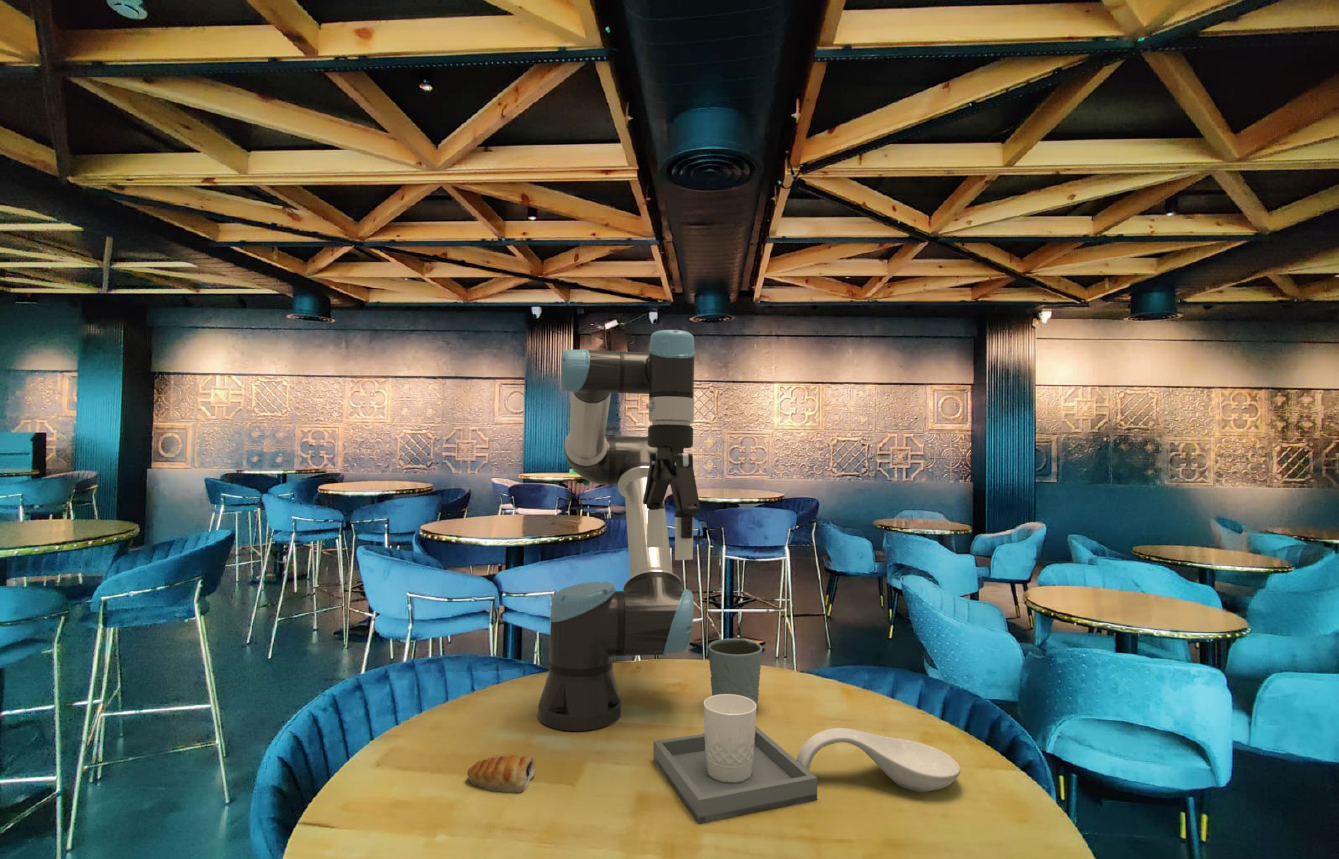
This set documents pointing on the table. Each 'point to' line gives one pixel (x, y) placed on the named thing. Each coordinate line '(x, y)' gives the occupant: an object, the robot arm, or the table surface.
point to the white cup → (729, 737)
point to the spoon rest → (891, 758)
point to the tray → (712, 800)
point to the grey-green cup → (735, 667)
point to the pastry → (503, 773)
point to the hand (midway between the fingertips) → (668, 553)
